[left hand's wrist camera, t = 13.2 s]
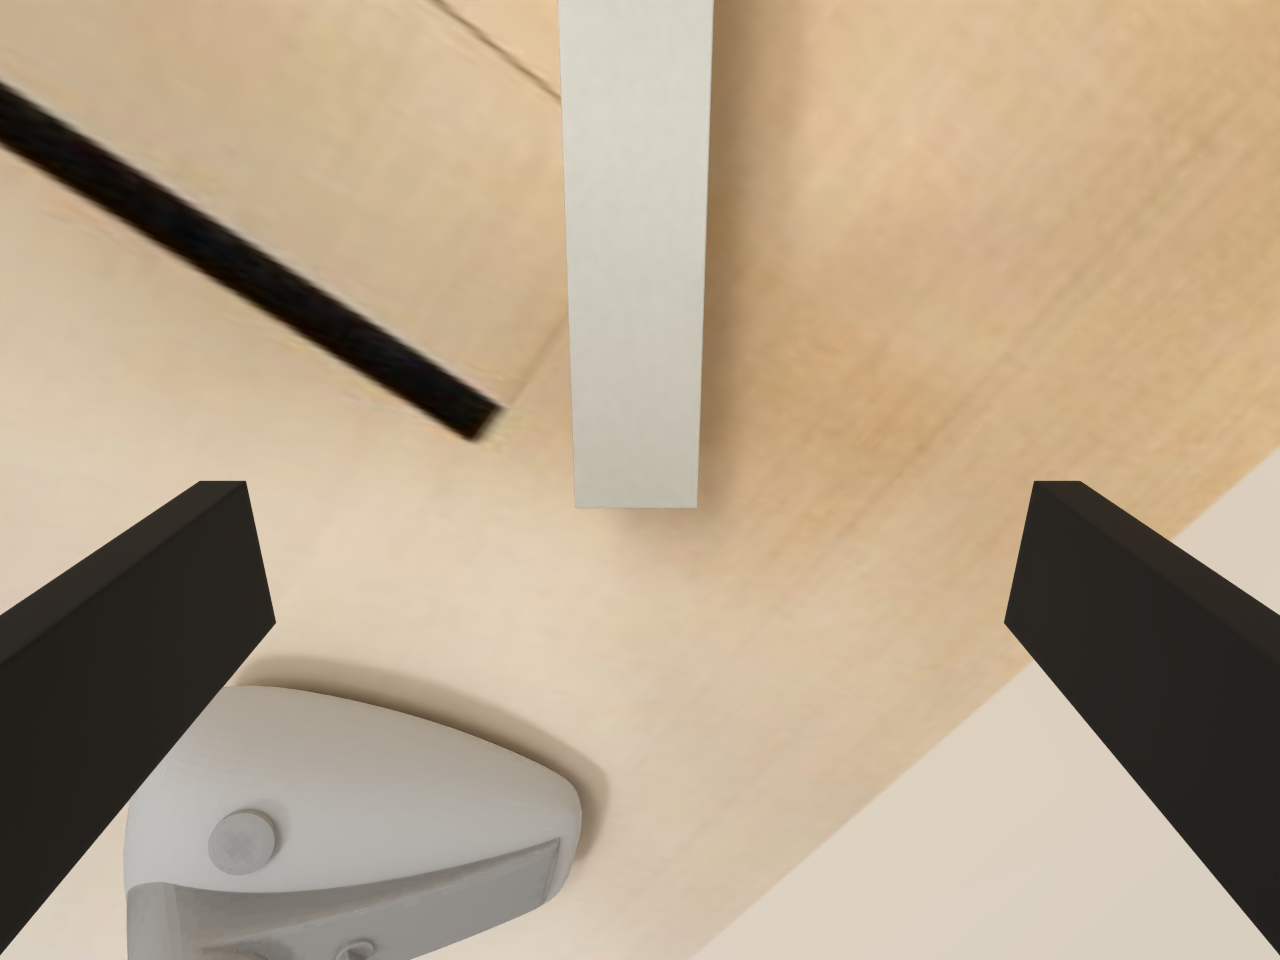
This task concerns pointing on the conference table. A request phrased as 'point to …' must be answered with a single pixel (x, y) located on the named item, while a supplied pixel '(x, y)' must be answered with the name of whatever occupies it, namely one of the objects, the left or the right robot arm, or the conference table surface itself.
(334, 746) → the projector
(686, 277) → the bar
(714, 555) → the conference table surface
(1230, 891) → the left robot arm
